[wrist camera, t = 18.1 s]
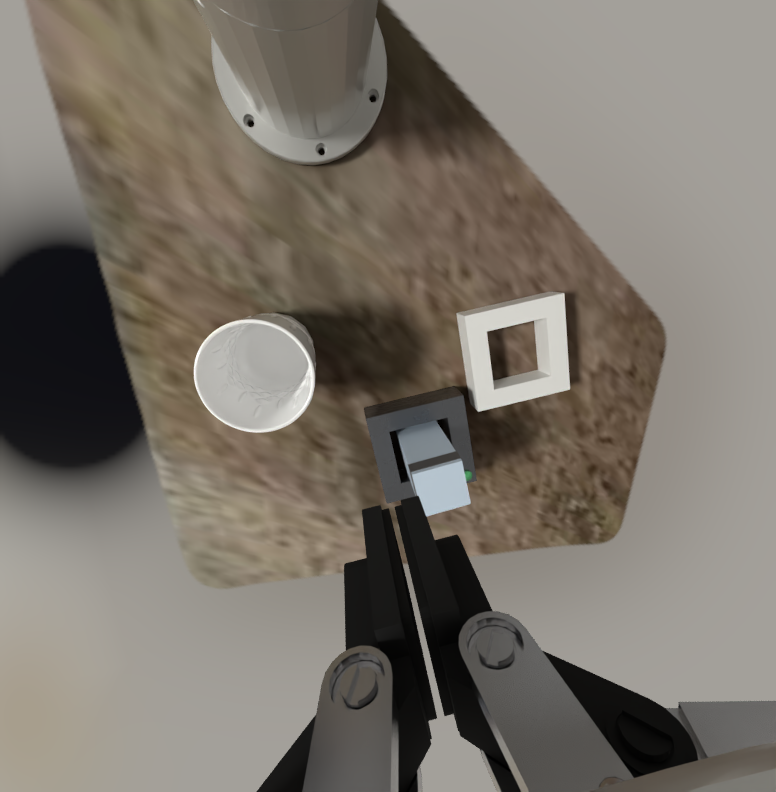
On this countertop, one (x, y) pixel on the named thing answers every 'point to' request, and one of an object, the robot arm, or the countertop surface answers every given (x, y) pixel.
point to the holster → (549, 345)
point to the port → (412, 413)
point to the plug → (433, 468)
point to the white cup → (257, 372)
